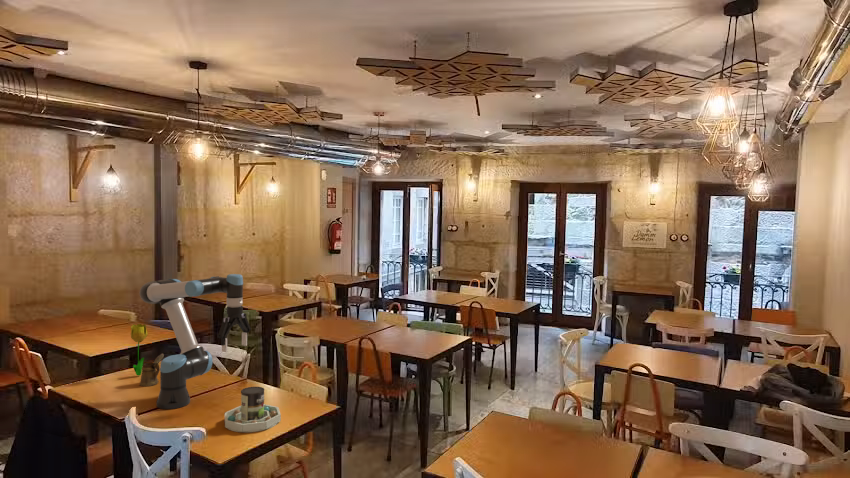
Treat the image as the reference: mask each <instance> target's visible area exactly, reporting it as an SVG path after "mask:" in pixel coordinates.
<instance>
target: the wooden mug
mask: <svg viewBox="0 0 850 478" xmlns="http://www.w3.org/2000/svg"><path fill="white" fill-rule="evenodd" d="M164 356H165V354H164V353H163V352H162V353H161V354H159V355H157V356H156V357H155V358H154V360H153V362H152V361H151V362H143V367H142V372H141V375H140V381H139V386H141V387H151V386H152V387H153V386H155V385H157V384H159V379H158V375H159V373H160V364H159V363H161V361H162V360H163V359H164V358H165V357H164Z"/></svg>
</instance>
